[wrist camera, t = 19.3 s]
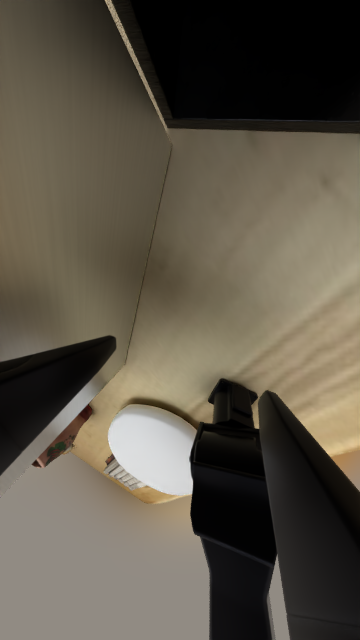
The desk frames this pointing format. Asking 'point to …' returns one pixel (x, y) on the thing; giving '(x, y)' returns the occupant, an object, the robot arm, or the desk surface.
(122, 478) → the mechanical keyboard
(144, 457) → the white round disc
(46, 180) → the microwave door
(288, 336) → the desk surface
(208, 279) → the desk surface
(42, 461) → the sculpted ceramic mug
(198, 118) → the microwave
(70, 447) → the pastry
